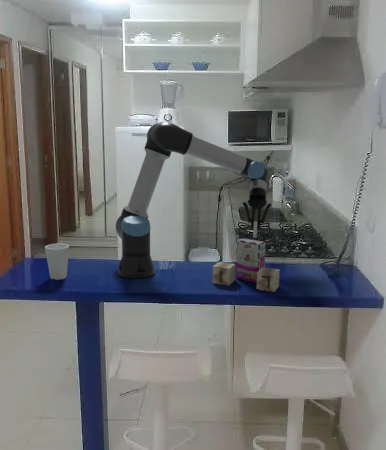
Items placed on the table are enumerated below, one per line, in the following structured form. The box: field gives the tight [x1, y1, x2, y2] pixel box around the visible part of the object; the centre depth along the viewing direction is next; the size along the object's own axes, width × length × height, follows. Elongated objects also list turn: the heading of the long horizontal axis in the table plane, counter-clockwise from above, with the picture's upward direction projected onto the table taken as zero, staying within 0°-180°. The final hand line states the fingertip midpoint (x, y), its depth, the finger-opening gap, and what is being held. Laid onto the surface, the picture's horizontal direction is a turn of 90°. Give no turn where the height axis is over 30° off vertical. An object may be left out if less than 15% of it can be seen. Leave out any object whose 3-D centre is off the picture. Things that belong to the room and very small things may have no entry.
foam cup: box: [44, 243, 70, 281], centre depth 197 cm, size 10×9×13 cm
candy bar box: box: [235, 237, 267, 284], centre depth 196 cm, size 11×5×16 cm, turn 49°
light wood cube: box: [256, 267, 280, 293], centre depth 188 cm, size 7×7×7 cm
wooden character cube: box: [212, 261, 236, 286], centre depth 195 cm, size 7×7×7 cm
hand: (254, 235), depth 209 cm, fingers closed
